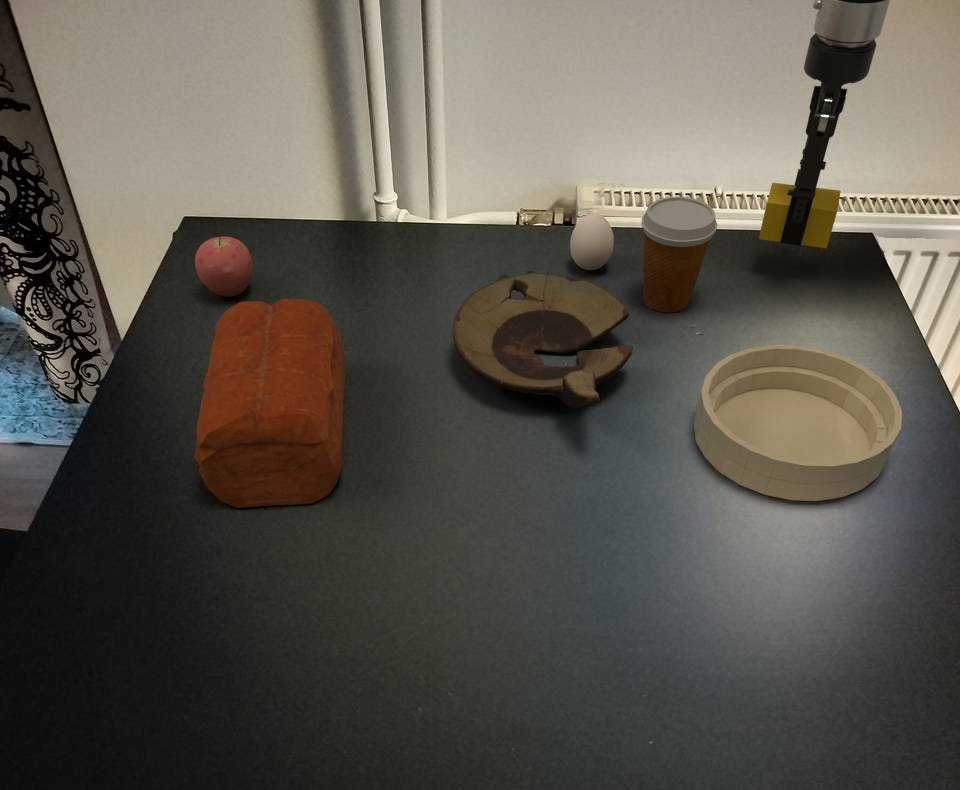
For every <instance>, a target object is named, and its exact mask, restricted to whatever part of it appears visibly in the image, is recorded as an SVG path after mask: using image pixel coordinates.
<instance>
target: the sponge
mask: <svg viewBox="0 0 960 790" xmlns="http://www.w3.org/2000/svg"><path fill="white" fill-rule="evenodd" d="M795 187H796V185H795V184H788V183H781V182H779V183H778V182H772V183H771V185H770V189H769V193H768V197H767V201H766V204H765V208H764V213H763V218H762V221H761V227H760V231H759V236H758V240H761V241H768V242H776V243H777V242H778V243H780V241H781V237H782V233H783V229H784V225H785V221H786V218H787V214H788V210H789V206H790V202H791V198H792V196H790V195H788V191H789V189H790V190H794V188H795ZM815 191H816V194H815V197H814V199H813V202H812V206H811V210H810V213H809V217H808V220H807V224H806V228H805V231H804V235H803V239H802V242H801V246H807V247H815V248H821V249H827V248H828V245H829V241H830V238H831V235H832V232H833V228H834V224H835V221H836V217H837V214H838V209H839V204H840V199H841V198H840V197H841V191H842V190H839V189H831V188H822V187H816V190H815Z"/></svg>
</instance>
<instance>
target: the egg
mask: <svg viewBox="0 0 960 790" xmlns="http://www.w3.org/2000/svg"><path fill="white" fill-rule="evenodd" d="M614 244H615V236H614V232H613V229H612V226H611V225H610V223H609V221H608V219H607V218H606V217H604V216H603V215H601V214H599V213H595V212H593V213H589V214H586V215H584V216H583V217H582V218H580V220H579V221H578V222H577V223H576V225H575V226H574V229H573V230H572V233H571V236H570V241H569V250H570V255H571V257H572V260H573V261H574V263H575V264H576V265H577V266H578V267H579V268H581V269H583V270H585V271H596V270H599V269H600V268H602V267H603V266H604V265H606V263H608V261H609V260H610V258H611V257H612V254H613V251H614V247H615V245H614Z"/></svg>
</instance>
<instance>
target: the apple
mask: <svg viewBox="0 0 960 790" xmlns="http://www.w3.org/2000/svg"><path fill="white" fill-rule="evenodd" d="M194 267H195V270H196V274H197V276H198V278H199V279H200V281H201V282H202V284H203V285H204V286H205V287H206V288H207V289H208V290H209V291H211V292H212V293H214V294H216V295H218V296H220V297H224V298H225V297H229V298H230V297H235V296H238V295H241V294H242V293H243V292H244V291H245V290H246V289H247V287H249V285H250V282H251V280H252V276H253V272H254V271H253V270H254V269H253V261H252V256H251V254H250V251H249V249H248V247H247V246H246V245H245V244H244V243H243V242H242V241H241V240H239V239H237V238H234V237H232V236H216V237H212V238H210V239H207V240H205V241H204V242H203V243H202V244H200V246H199V247H198V249H197V250H196V253H195V257H194Z"/></svg>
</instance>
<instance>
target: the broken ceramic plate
mask: <svg viewBox="0 0 960 790" xmlns="http://www.w3.org/2000/svg"><path fill="white" fill-rule="evenodd" d="M513 291H516V292H517V293H521V294H522V295H523V296H522V298H513V297H512V293H513ZM629 317H630V313H629V309H628V308H627V307H626V306H624V304H623V302H622V300H620V299H619V298H618V297H617V296H615V295H614V294H611V292H609V291H608V290H607V289H605V288H604V287H602V286H600V285H598V284H596V283H593V282H591V281H588V280H585V279H581V278H577V277H576V278H575V277H570V276H568V275H566V276H563V275H562V274H556V273H555V274H552V273H551V274H550V273H548V272H547V273H541V272H537V271H533V270H529V271H527V272H525V273H522V274H519V275H506V274H503V275H500V276H499V277H498V278H497V279H496V281H494V282H491V283H489V284H487V285H485V286H483V287H481V288H480V289H478V290H477V291H475V292H474V293H472V294H471V295H470V296H469V297H467V298H466V299H465V300H464V301H463V303H462V304H461V305H460V306H459V308H458V309H457V312H456V313H455V316H454V319H453V321H452V327H451V328H452V331H451V332H452V338H453V343H454V347H455V350H456V352H457V354H458V356H459V358H460V359H461V360H462V362H463V363H464V364H465V365H466V367H467V368H468V369H469V370H470V371H472V372H473V373H475V374H476V375H477V376H479V377H480V378H482V379H483V380H485V381H488V382H489V383H492V384H494V385H496V386H498V387H501V388H504V389H508V390H510V391H515V392H518V393H519V392H520V393H525V394H534V395H541V396H555V397H556V398H558V399H559V400H561V402H563V404H564V405H566V406H567V407H569V408H581V407H584V406H590V405H594V404H597V403H599V402H601V401H600V400H601V398H600V394H599V393H598V392H597V391H596V386H597V385H598V384H600V383H602V382H604V381H606V380H608V379H609V378H611V377H613V376H614V375H615V374H617V373H618V372H620V370H621V369H622V368H623V367H624V366H625V365H626V363H627V362H628V361H629V359H630V358H631V356H632V354H633V350H634V347H633V345H629V344H628V345H622V346H620V345H617V346H615V347H603V348H600V349H598V348H596V349H585V348H586V347H588V346H590V345H591V344H592V343H594V342H596V341H598V340H600V339H601V338H602V337H604V336H605V335H607V334H609V333H610V332H611V331H612V330H614V329H615V328H617V327H618V326H620V325H621V324H622V323H623V322H625V321H626V320H627V319H628V318H629ZM581 349H583V350H581ZM535 352H542V353H544V352H545V353H554V354H565V353H566V354H567V353H568V354H569V353H571V352H573V353H575V352H576V362H577V365H574V366H568V365H567V363H566V361H565V360H563V362H564V366H558V365H553V366H551V365H544V364H543V362H542V360H541V359H540V357H538V355H536V353H535Z"/></svg>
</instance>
